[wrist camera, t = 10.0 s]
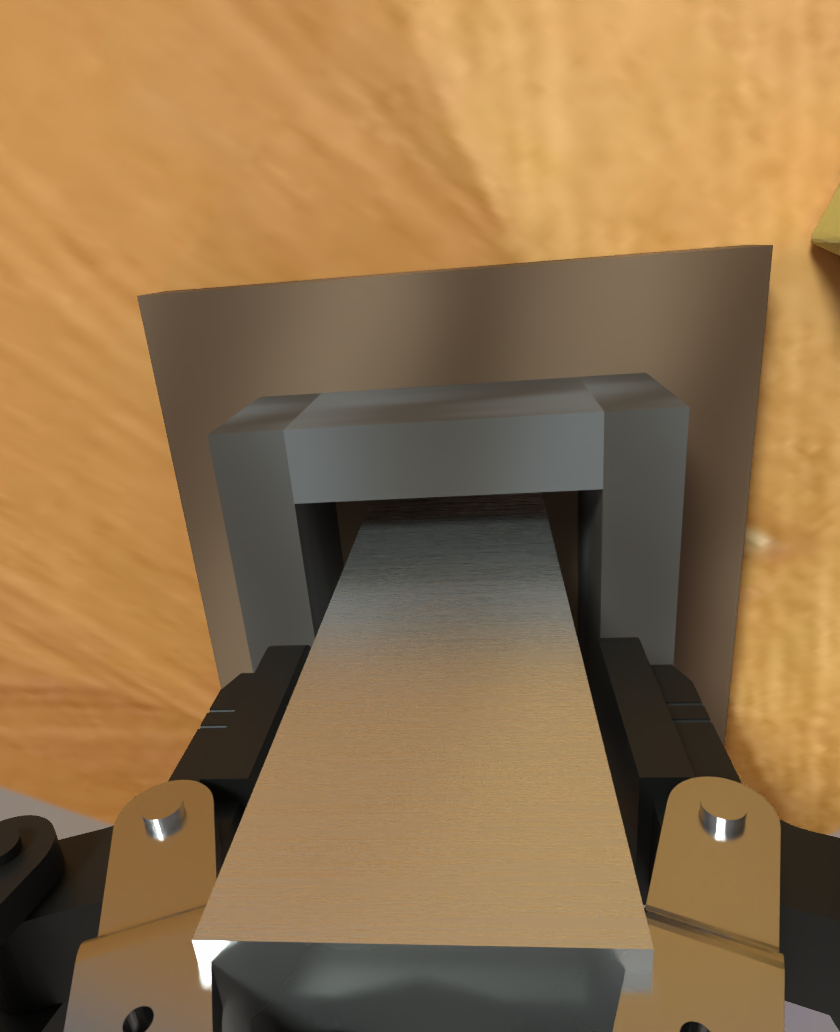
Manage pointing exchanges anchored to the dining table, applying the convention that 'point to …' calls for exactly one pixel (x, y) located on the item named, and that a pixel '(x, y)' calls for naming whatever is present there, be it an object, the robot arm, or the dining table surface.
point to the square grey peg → (433, 802)
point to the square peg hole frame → (475, 435)
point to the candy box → (829, 226)
